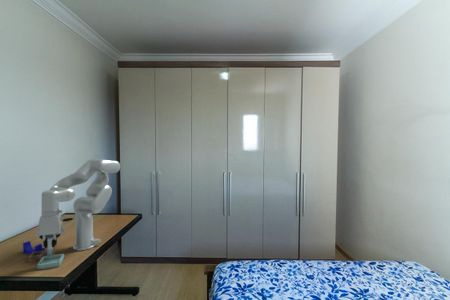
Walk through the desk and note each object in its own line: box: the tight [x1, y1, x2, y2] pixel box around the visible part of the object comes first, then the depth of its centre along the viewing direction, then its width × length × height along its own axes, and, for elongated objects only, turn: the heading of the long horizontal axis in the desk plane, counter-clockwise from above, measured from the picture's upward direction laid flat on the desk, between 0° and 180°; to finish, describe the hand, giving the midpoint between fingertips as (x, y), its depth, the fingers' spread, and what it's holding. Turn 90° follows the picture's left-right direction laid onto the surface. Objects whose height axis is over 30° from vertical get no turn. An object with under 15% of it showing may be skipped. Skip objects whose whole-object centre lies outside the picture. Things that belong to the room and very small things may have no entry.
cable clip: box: [22, 240, 46, 255], centre depth 142 cm, size 12×4×6 cm, turn 71°
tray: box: [35, 253, 65, 271], centre depth 129 cm, size 10×10×2 cm
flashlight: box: [46, 234, 55, 257], centre depth 129 cm, size 4×4×11 cm
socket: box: [27, 250, 46, 263], centre depth 135 cm, size 6×6×3 cm
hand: (50, 246), depth 129 cm, fingers closed on flashlight, 3 cm apart
